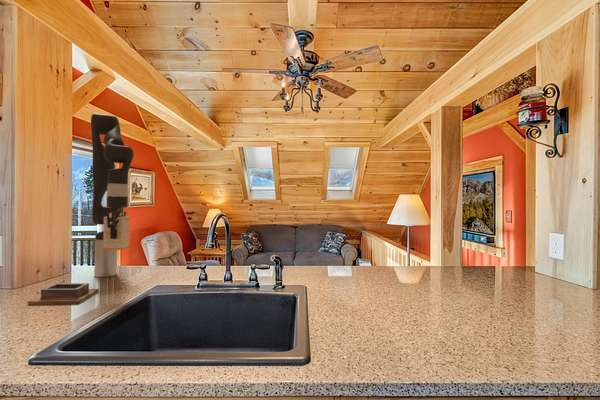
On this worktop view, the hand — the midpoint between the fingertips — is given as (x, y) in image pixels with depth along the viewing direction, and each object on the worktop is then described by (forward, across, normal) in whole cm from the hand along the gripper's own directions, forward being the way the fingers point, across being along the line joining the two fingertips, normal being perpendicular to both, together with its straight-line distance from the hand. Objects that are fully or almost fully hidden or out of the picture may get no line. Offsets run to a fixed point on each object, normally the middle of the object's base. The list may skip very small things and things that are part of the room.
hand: (116, 237), depth 138 cm
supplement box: (+5, 0, 0) cm, 5 cm away
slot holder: (+21, +9, -14) cm, 27 cm away
